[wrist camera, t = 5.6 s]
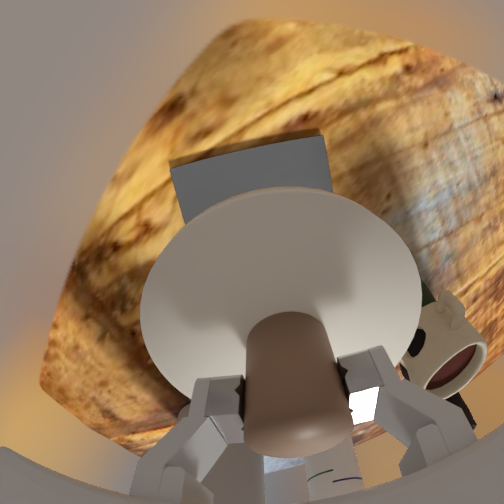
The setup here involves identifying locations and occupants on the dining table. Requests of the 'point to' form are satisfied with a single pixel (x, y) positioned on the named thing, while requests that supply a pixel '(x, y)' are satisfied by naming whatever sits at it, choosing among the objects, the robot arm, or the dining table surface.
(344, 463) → the cylindrical container
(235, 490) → the cylinder vase
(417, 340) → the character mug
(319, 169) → the mat
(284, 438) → the lid
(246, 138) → the dining table surface
